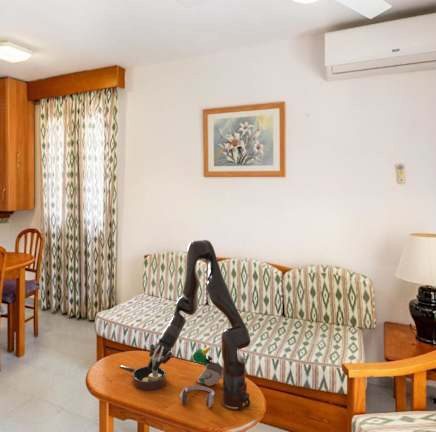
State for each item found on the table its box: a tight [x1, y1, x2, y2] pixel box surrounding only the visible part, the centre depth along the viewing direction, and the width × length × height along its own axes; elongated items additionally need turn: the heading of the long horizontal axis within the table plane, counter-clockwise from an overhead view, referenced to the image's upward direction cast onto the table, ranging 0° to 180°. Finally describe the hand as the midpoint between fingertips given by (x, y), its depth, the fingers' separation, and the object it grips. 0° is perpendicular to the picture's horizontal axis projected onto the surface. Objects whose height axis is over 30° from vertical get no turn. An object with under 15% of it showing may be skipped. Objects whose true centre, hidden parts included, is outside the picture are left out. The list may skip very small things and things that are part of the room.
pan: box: [132, 365, 167, 392], centre depth 181 cm, size 15×15×4 cm
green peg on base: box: [148, 357, 162, 382], centre depth 179 cm, size 5×4×11 cm
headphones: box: [169, 385, 216, 409], centre depth 167 cm, size 17×6×20 cm
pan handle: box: [119, 364, 136, 374], centre depth 188 cm, size 11×2×2 cm, turn 58°
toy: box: [192, 346, 223, 389], centre depth 181 cm, size 6×17×20 cm
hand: (151, 368), depth 177 cm, fingers closed on green peg on base, 2 cm apart
